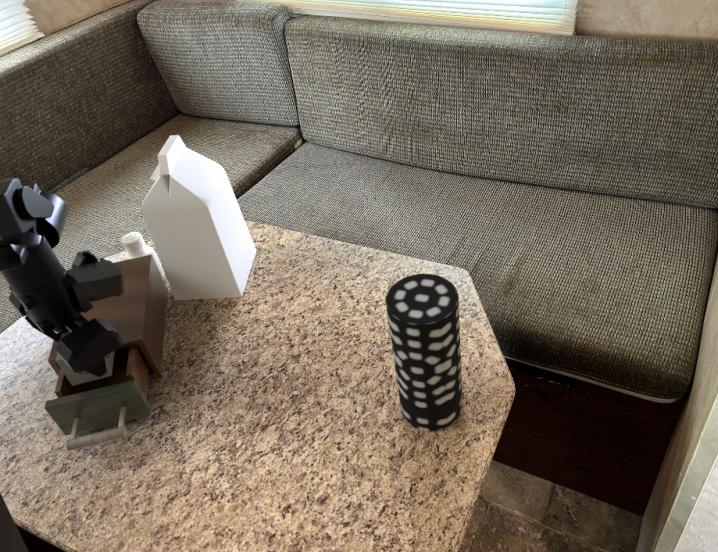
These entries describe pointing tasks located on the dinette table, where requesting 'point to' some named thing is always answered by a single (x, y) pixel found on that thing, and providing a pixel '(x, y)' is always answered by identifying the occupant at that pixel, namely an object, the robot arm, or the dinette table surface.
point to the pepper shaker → (138, 248)
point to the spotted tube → (426, 349)
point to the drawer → (102, 400)
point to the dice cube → (84, 376)
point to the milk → (197, 225)
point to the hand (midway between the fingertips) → (90, 362)
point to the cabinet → (134, 312)
